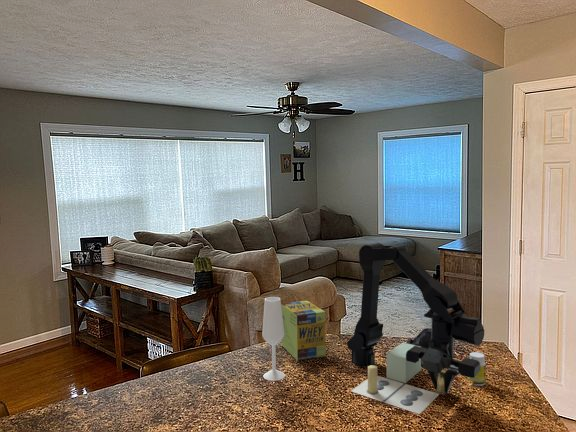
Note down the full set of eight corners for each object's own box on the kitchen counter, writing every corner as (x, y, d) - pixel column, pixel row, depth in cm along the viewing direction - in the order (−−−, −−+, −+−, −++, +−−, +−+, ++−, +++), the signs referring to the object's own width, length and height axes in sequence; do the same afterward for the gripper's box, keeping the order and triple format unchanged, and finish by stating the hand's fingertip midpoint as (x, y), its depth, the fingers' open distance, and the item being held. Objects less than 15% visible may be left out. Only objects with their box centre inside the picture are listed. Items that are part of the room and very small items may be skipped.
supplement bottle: (487, 387, 131) (487, 358, 131) (469, 385, 132) (470, 357, 132) (483, 379, 136) (484, 351, 135) (466, 378, 137) (467, 350, 136)
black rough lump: (395, 360, 153) (396, 332, 151) (409, 344, 164) (410, 317, 162) (435, 372, 145) (437, 343, 143) (447, 354, 156) (449, 327, 154)
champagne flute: (264, 370, 145) (262, 295, 142) (285, 371, 144) (284, 295, 142) (262, 380, 138) (260, 302, 136) (284, 380, 138) (282, 302, 135)
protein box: (297, 361, 151) (296, 315, 150) (281, 345, 166) (280, 303, 164) (326, 356, 155) (325, 311, 154) (307, 341, 169) (307, 299, 168)
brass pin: (435, 396, 126) (435, 372, 126) (438, 393, 128) (438, 368, 128) (444, 399, 125) (445, 374, 124) (447, 395, 127) (448, 371, 126)
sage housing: (386, 381, 136) (386, 353, 135) (402, 368, 144) (402, 342, 144) (405, 387, 132) (405, 358, 131) (420, 373, 141) (421, 346, 140)
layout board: (350, 395, 128) (350, 366, 127) (373, 378, 138) (373, 351, 137) (419, 418, 115) (419, 387, 115) (439, 398, 125) (439, 369, 125)
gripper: (397, 336, 125) (396, 392, 126) (467, 353, 113) (466, 414, 114) (414, 325, 133) (414, 377, 135) (481, 339, 121) (480, 396, 123)
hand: (441, 390), depth 126 cm, fingers closed on brass pin, 3 cm apart
